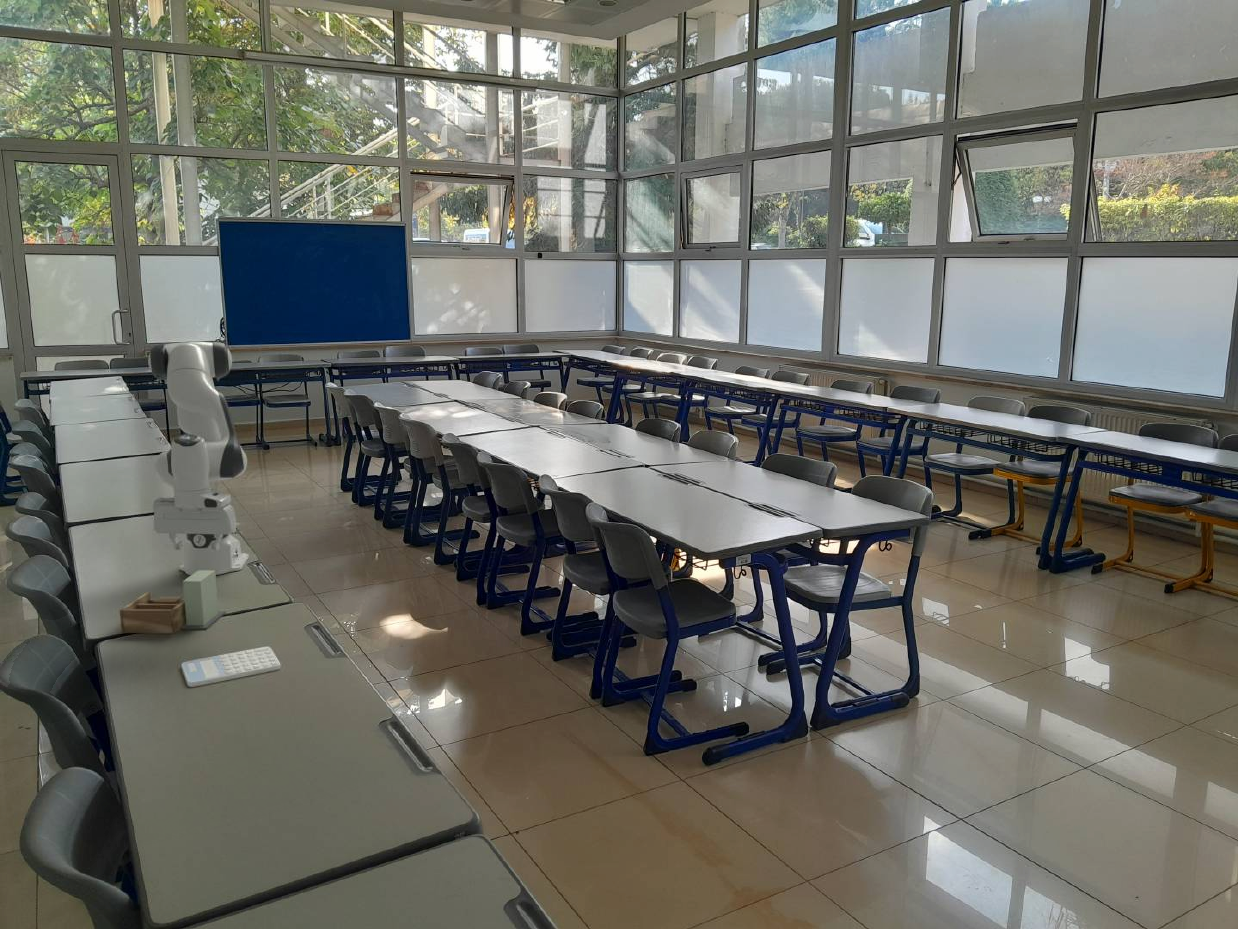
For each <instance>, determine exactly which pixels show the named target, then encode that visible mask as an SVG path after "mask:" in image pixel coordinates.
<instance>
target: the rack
mask: <svg viewBox="0 0 1238 929" xmlns="http://www.w3.org/2000/svg"><path fill="white" fill-rule="evenodd" d="M155 599H156V598H155ZM155 599H154V598H151V592H150V591H147V592H145V593H143V594H142V595H140V596H138V597H137V598H136V599H134V600H133V601H131V602H130V603H128V604H127V605H126V606H124V607H122V608H120V609H119V618H120V619H119V620H120V628H121V633H127V634H128V633H129V634H130V633H131V634H132V633H133V634H138V633H139V634H141V633H142V634H169V633H170V634H176V633H177V632H178V631H180V630H181V629H180V627H181V626H182V625H183V624H185V623H186V612H185V600H184V599H182V602H181V603H180V604H153V601H154V600H155Z"/></svg>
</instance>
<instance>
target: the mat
mask: <svg viewBox="0 0 1238 929" xmlns="http://www.w3.org/2000/svg"><path fill="white" fill-rule="evenodd" d="M218 612H219V613H218V614H217V615H216V616H214V617H213V618H212V619H211V620H210V621H209V622H207V623H206V624H205V625H187V623H185V624H183V625H182V626H181V627H180V630H205V631H206V630H208V629H209V628H210V627H211V626H212V625H214V624H215V623H216V622H217V621H218V620H219V619H220V618H222V617H223V616H224V615H225V614H226V610H221V611H219V610H218Z"/></svg>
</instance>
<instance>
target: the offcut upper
mask: <svg viewBox="0 0 1238 929" xmlns="http://www.w3.org/2000/svg"><path fill="white" fill-rule="evenodd" d="M182 600H183V599H182V596H159V597H157V598H155V600H154V601H153V604H180V603H181V602H182Z"/></svg>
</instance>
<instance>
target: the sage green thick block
mask: <svg viewBox="0 0 1238 929" xmlns="http://www.w3.org/2000/svg"><path fill="white" fill-rule="evenodd" d="M182 586H183V587H182V589H183V597H184V598H183V600H185V612H186V623H187V625H205V624H206V623H207V622H209V621H210V620H211V619H212V618H213V617H214V616H216V615H217V614H218V613H219V612H218V611H219V603H218V602H219V601H218V600H219V599H218V589H217V577H216V574H215V571H210V570H198V571H197V572H195V573H194V574H192V575H189V576H188V577H187V578H185V580H182Z"/></svg>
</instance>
